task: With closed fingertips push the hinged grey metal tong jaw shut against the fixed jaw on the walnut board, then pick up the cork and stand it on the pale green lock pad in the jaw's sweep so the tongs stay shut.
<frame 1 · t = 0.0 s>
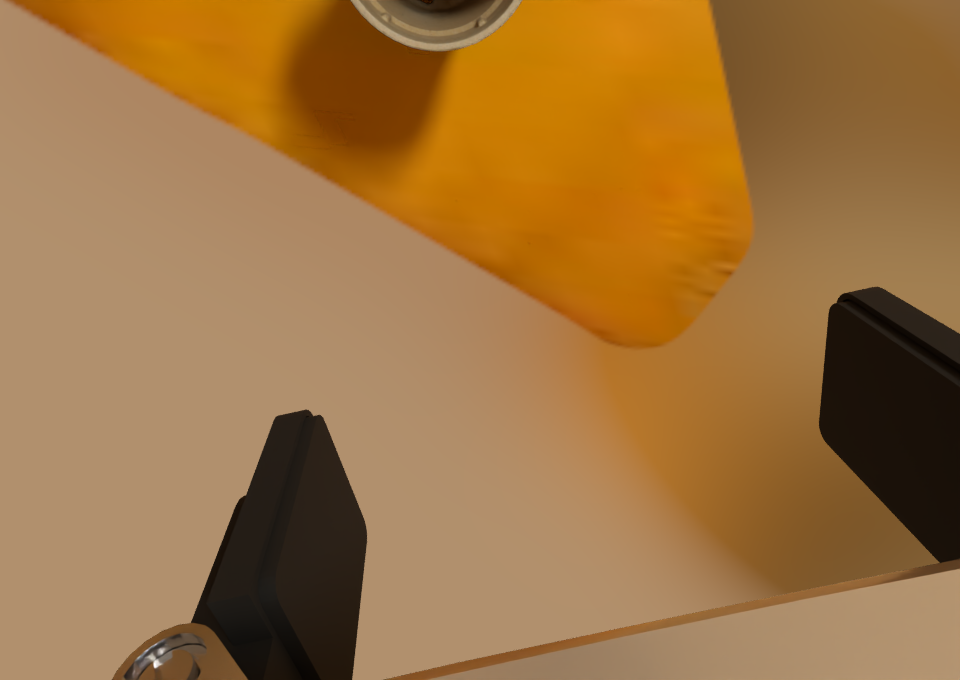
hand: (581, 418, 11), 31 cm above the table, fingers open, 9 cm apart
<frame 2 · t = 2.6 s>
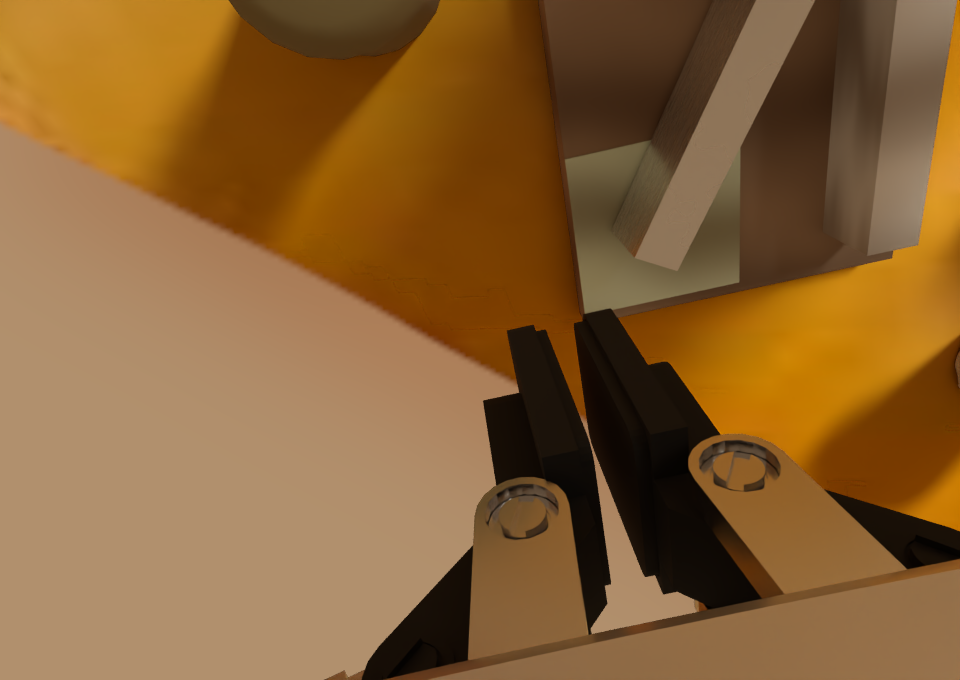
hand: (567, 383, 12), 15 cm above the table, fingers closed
board: (725, 90, 24), on the table
jaw: (739, 54, 21), point 3 cm above the table, hinge at 30.0°
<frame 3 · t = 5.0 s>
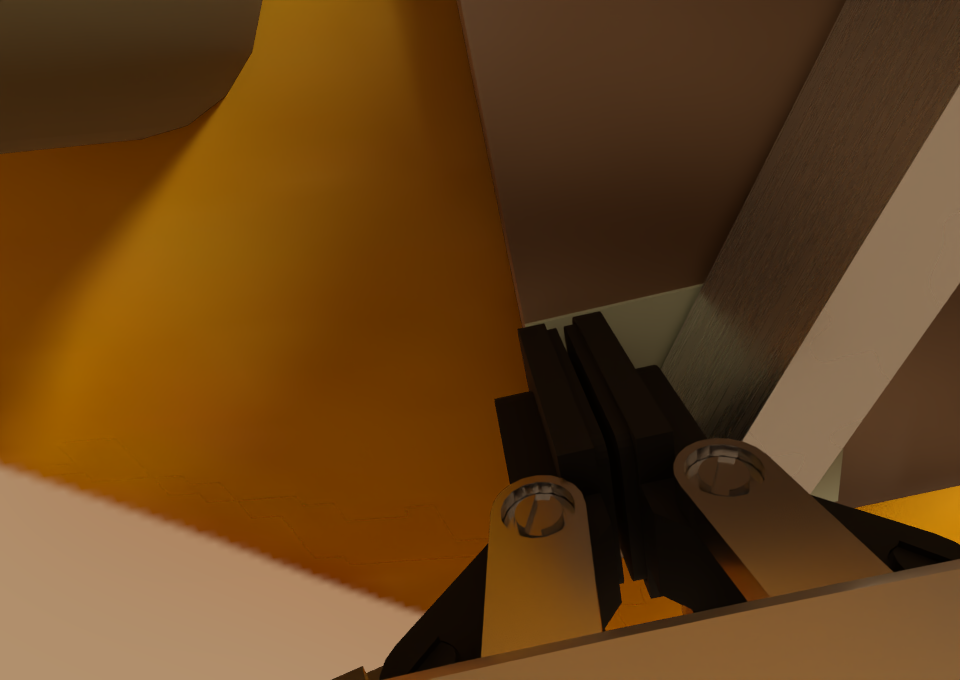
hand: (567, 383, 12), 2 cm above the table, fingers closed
board: (829, 185, 13), on the table
jaw: (907, 147, 9), point 3 cm above the table, hinge at 28.9°, touching gripper
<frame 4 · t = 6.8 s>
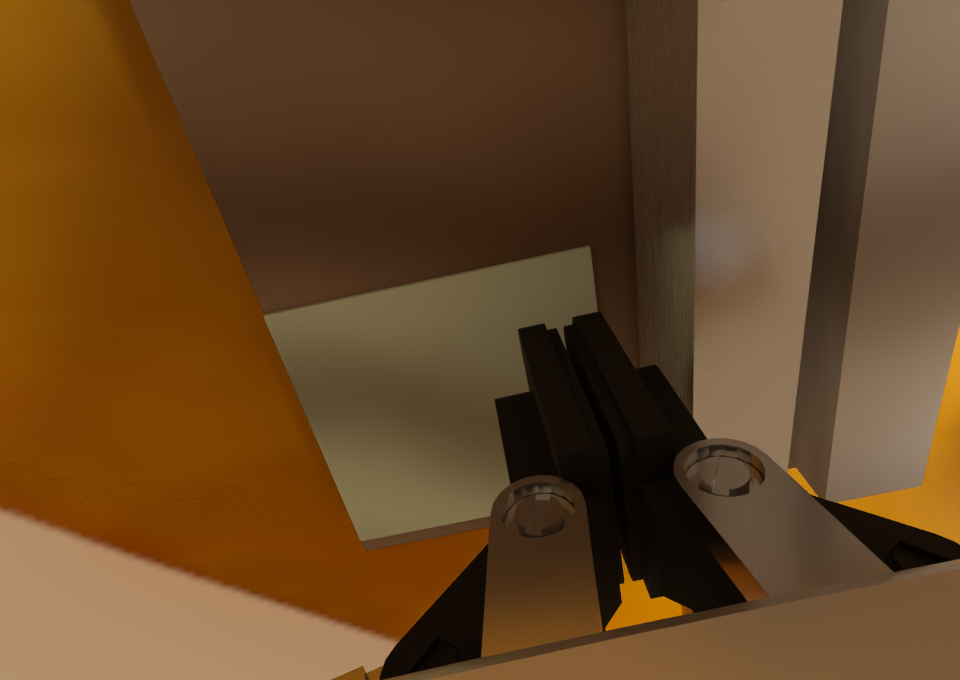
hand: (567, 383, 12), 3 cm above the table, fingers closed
board: (572, 183, 13), on the table
jaw: (720, 161, 10), point 3 cm above the table, hinge at 1.6°, touching gripper
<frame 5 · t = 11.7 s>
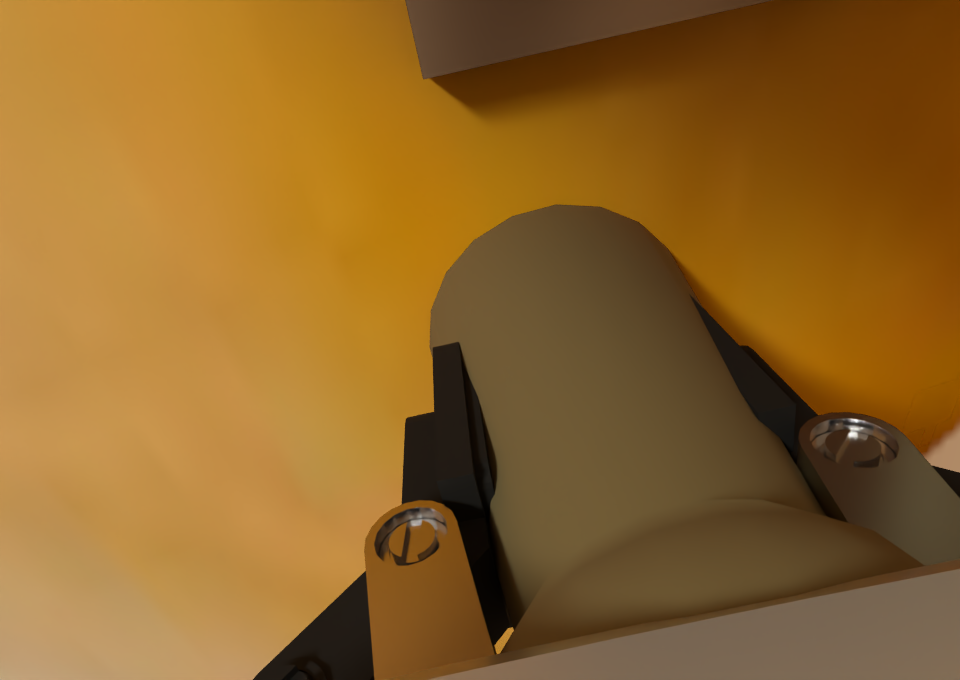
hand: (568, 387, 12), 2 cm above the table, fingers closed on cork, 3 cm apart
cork: (557, 328, 14), on the table, touching gripper
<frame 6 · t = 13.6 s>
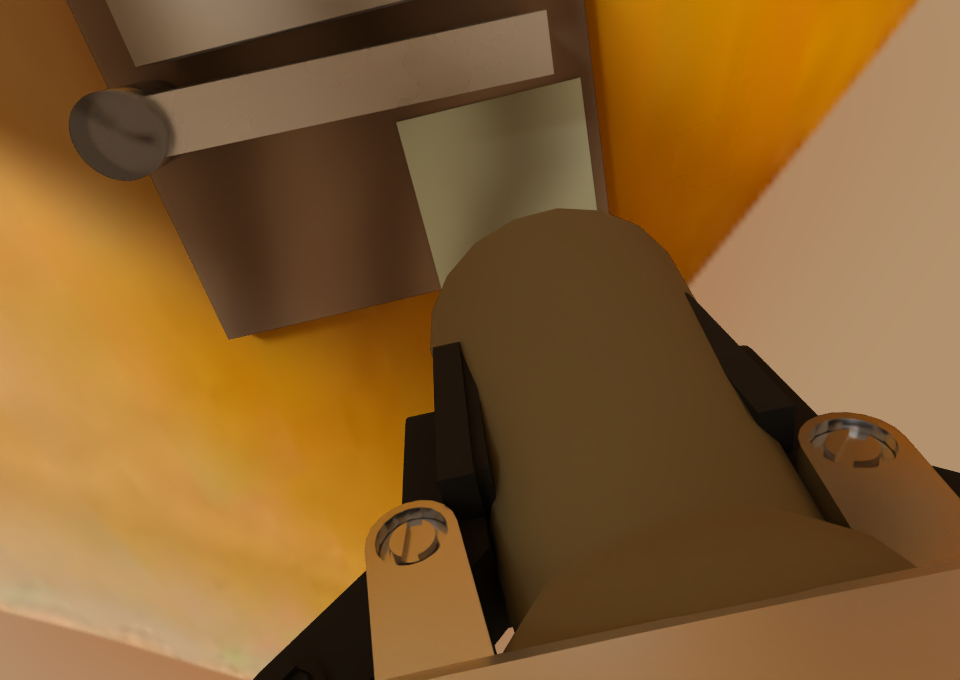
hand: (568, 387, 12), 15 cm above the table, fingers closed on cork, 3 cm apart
board: (372, 123, 24), on the table
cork: (557, 331, 14), point 13 cm above the table, touching gripper
jaw: (321, 88, 20), point 3 cm above the table, hinge at 1.6°
when the fingers open (4 cm above the table, at t = 15.9 s): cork stays where it is, resting on board.
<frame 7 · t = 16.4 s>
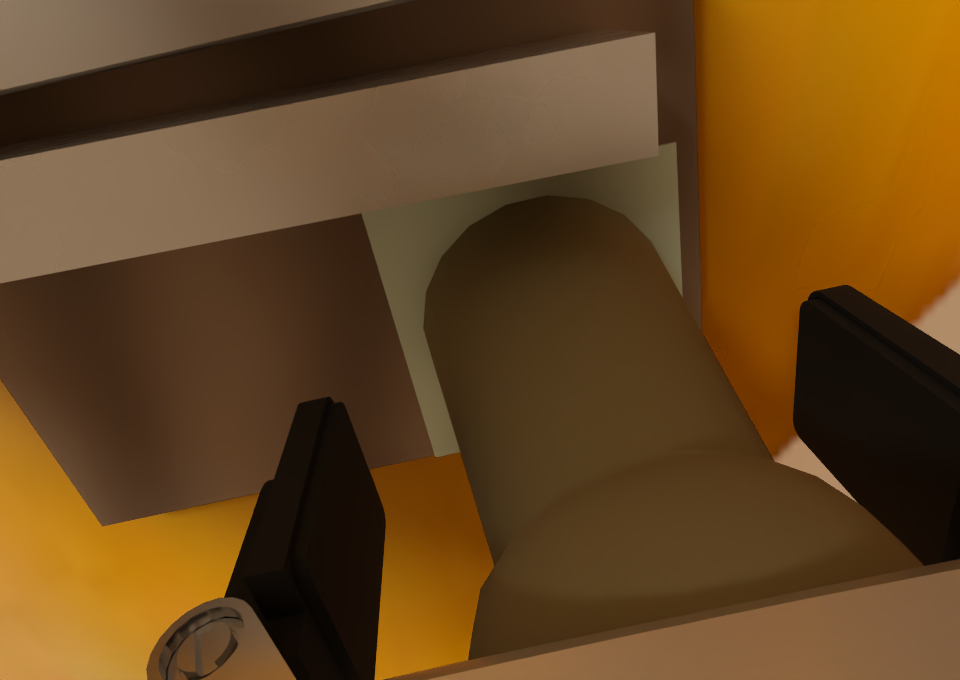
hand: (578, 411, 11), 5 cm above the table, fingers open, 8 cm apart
board: (325, 206, 14), on the table
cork: (545, 314, 15), point 1 cm above the table, touching board
jaw: (213, 169, 11), point 3 cm above the table, hinge at 1.6°
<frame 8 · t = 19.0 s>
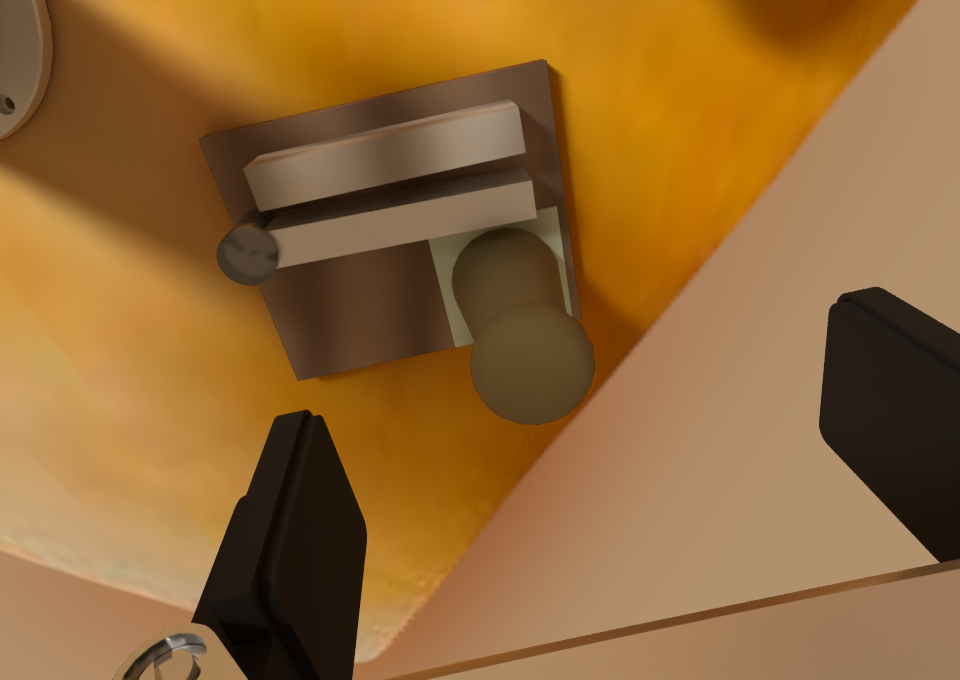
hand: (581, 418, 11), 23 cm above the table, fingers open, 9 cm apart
board: (409, 231, 33), on the table
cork: (505, 278, 34), point 1 cm above the table, touching board
jaw: (379, 221, 29), point 3 cm above the table, hinge at 1.6°
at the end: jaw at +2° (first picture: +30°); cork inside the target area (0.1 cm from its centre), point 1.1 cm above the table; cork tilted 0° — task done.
